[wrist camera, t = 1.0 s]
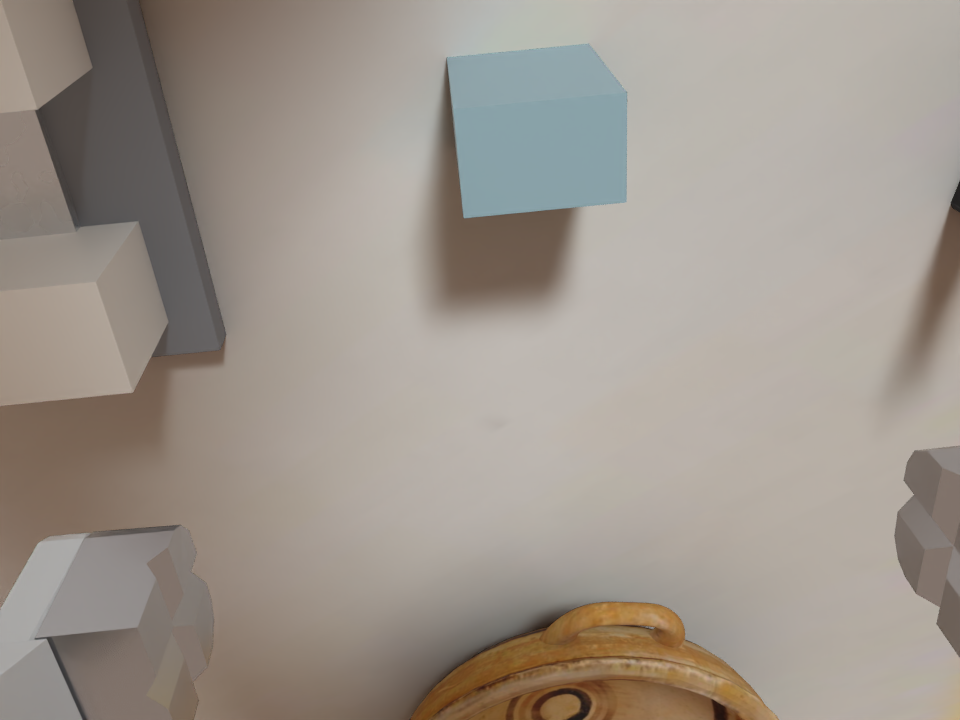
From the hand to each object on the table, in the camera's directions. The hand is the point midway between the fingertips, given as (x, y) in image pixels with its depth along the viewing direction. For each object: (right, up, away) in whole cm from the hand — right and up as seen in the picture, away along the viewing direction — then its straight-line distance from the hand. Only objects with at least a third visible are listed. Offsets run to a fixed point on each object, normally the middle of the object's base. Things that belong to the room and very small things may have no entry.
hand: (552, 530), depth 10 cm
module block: (+1, +13, +28) cm, 31 cm away
